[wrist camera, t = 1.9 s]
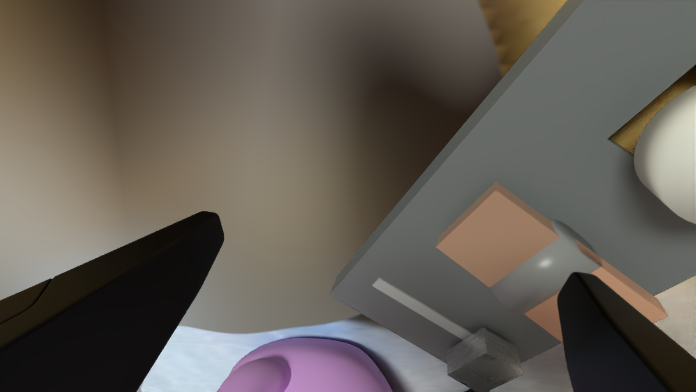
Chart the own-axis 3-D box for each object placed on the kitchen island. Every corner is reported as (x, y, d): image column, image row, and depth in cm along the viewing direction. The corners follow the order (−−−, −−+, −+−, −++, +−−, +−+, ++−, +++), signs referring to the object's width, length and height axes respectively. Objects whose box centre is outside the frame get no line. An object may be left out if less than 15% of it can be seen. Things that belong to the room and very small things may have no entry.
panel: (922, 112, 14) (995, 129, 12) (478, 361, 29) (480, 384, 27) (649, -98, 12) (684, -114, 11) (336, 277, 27) (329, 296, 26)
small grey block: (517, 347, 23) (523, 374, 21) (478, 368, 25) (481, 394, 24) (483, 327, 23) (486, 352, 21) (447, 350, 25) (447, 375, 23)
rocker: (648, 284, 17) (673, 325, 15) (571, 324, 20) (582, 365, 17) (495, 173, 18) (496, 194, 15) (441, 226, 21) (434, 252, 18)
